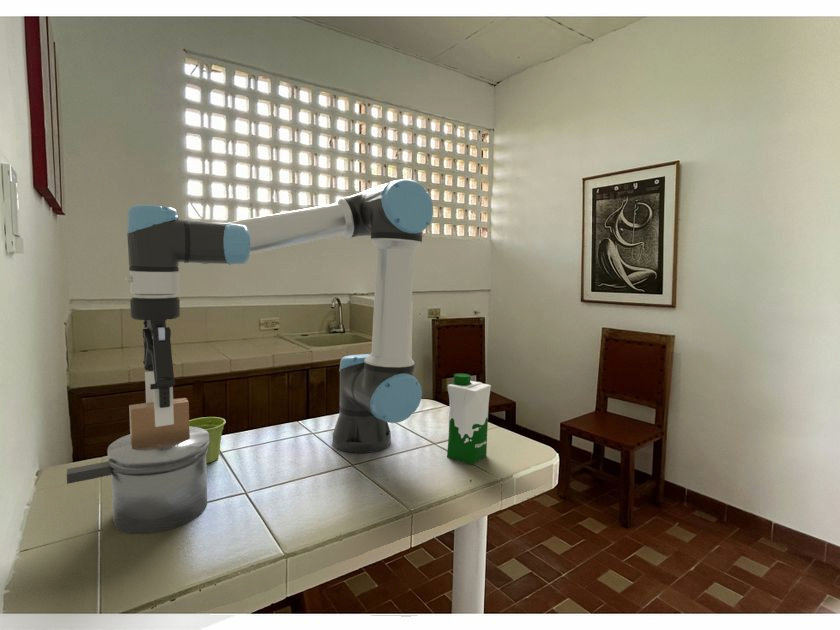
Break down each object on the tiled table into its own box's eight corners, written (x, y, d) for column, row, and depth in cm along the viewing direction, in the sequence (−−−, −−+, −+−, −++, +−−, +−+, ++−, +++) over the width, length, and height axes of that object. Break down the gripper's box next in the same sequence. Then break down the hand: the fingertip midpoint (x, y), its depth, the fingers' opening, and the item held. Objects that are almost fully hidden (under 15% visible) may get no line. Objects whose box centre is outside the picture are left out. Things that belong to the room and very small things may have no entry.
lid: (199, 426, 95) (198, 387, 94) (218, 452, 82) (217, 407, 81) (105, 442, 85) (103, 399, 84) (110, 475, 72) (108, 424, 71)
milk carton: (460, 446, 119) (463, 370, 117) (492, 456, 113) (495, 376, 111) (441, 457, 112) (444, 376, 110) (473, 467, 106) (477, 383, 104)
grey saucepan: (200, 483, 95) (198, 427, 94) (217, 517, 83) (216, 452, 82) (71, 513, 83) (67, 448, 82) (69, 558, 70) (64, 483, 69)
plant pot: (172, 462, 105) (171, 425, 104) (208, 448, 113) (207, 414, 113) (199, 471, 101) (198, 433, 100) (235, 456, 109) (234, 421, 108)
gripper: (124, 292, 88) (129, 399, 91) (136, 301, 68) (141, 440, 71) (168, 291, 93) (172, 394, 95) (192, 300, 73) (195, 430, 75)
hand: (159, 414), depth 83 cm, fingers open, 13 cm apart
